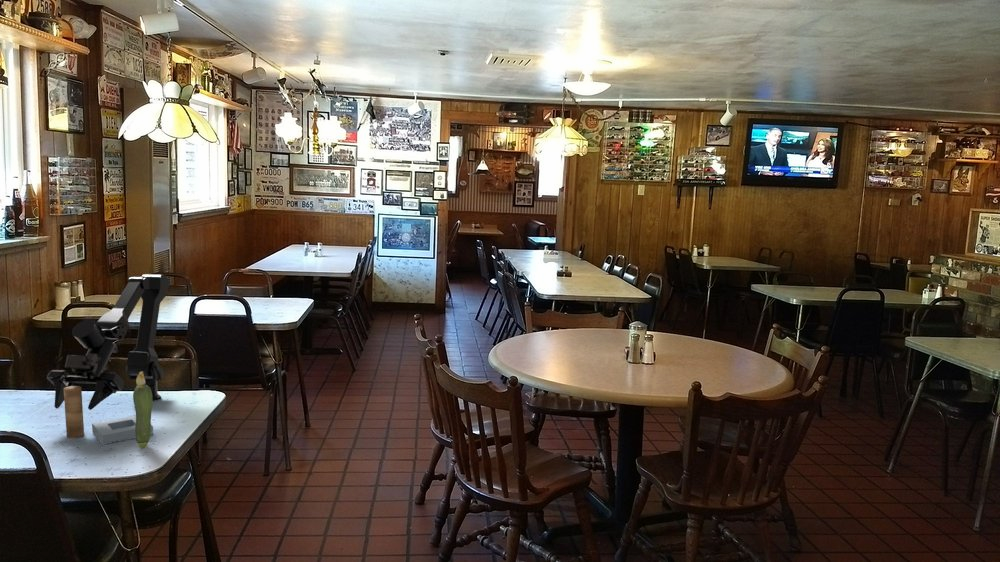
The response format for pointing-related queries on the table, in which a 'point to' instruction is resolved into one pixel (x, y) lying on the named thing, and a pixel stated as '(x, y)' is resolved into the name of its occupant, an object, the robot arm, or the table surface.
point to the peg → (73, 411)
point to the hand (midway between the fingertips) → (72, 408)
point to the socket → (116, 429)
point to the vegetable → (142, 411)
